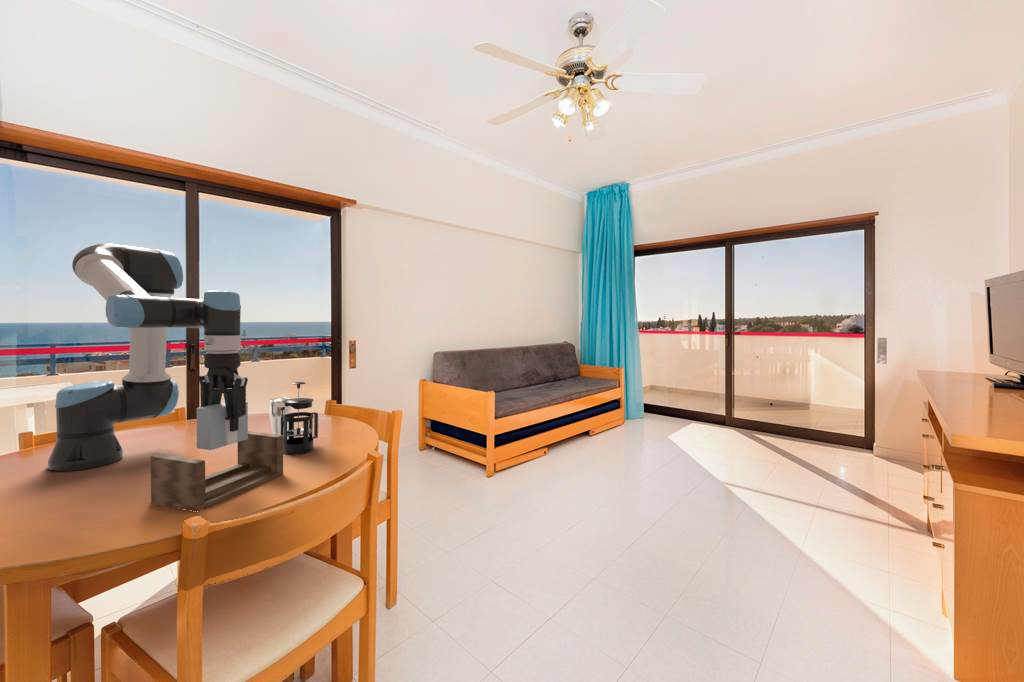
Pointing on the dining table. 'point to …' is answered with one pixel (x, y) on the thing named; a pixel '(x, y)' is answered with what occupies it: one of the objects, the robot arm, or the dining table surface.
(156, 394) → the robot arm
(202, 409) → the plain grey rectangular block
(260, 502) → the dining table surface
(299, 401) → the french press
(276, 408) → the white silver canister
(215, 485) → the track base
